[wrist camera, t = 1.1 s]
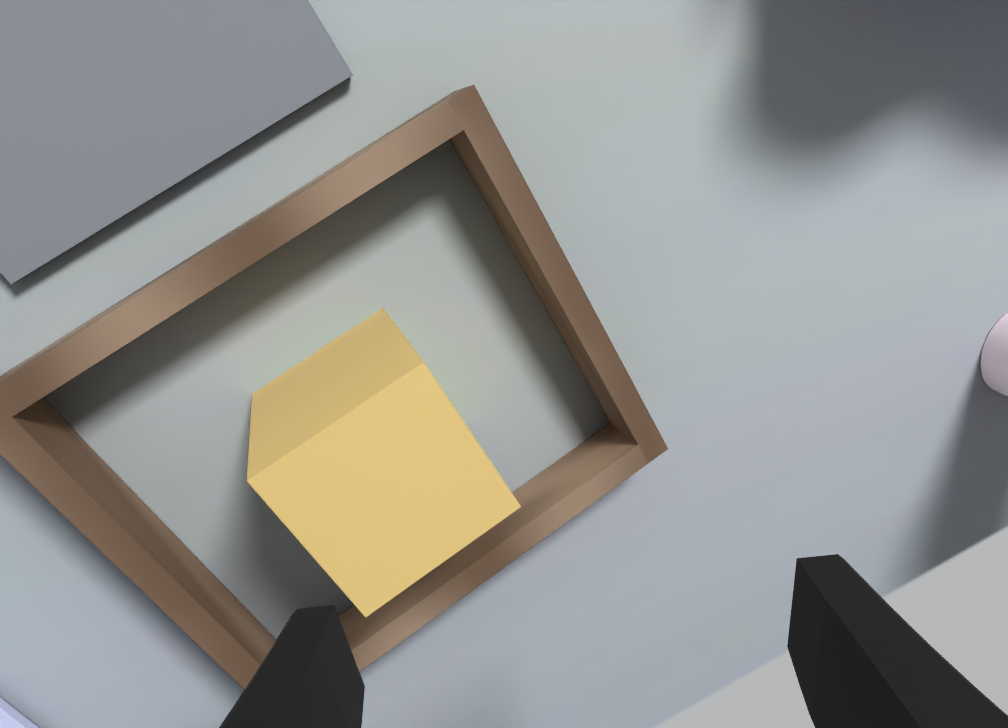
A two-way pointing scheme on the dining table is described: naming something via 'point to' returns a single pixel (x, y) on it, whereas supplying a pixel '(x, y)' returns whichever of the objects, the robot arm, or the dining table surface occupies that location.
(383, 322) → the ochre block
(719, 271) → the dining table surface
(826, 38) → the dining table surface
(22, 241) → the mat
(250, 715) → the robot arm
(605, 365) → the wooden picture frame
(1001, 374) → the smoothie
